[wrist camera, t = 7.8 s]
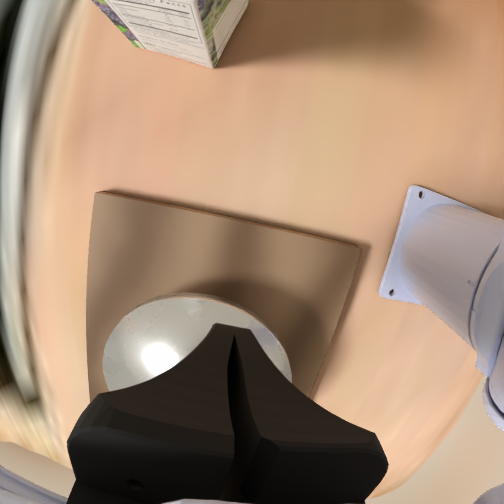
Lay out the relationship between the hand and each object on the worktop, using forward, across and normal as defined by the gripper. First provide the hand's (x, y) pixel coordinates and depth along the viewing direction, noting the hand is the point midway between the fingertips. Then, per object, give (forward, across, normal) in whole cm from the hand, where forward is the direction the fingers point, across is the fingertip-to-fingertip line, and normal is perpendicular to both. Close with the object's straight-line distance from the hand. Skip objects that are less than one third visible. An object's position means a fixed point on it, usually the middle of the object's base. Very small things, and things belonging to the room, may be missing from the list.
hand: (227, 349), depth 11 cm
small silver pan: (+9, +2, +9) cm, 13 cm away
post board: (+10, +1, +7) cm, 12 cm away
